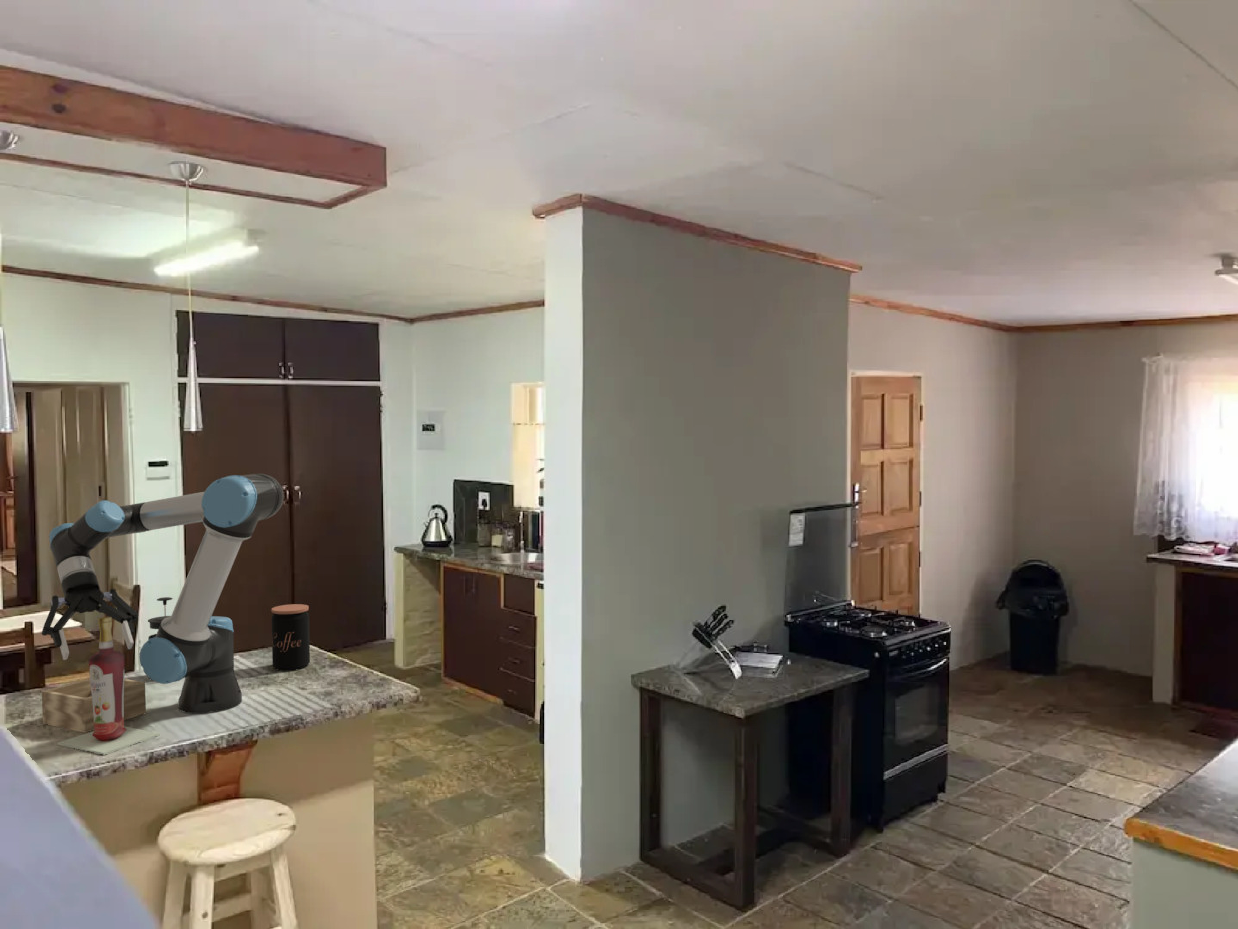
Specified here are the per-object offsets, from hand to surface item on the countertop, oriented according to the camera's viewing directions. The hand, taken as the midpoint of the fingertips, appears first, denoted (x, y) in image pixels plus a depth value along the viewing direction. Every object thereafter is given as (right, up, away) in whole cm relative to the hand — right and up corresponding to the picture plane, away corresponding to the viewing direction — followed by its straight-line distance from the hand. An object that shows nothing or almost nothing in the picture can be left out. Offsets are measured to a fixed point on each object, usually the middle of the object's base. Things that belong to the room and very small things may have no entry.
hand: (99, 651), depth 213 cm
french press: (-10, -18, +52) cm, 56 cm away
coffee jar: (+23, -18, +62) cm, 68 cm away
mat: (+3, -20, -2) cm, 21 cm away
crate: (-9, -20, +14) cm, 26 cm away
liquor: (+3, -20, -2) cm, 20 cm away
